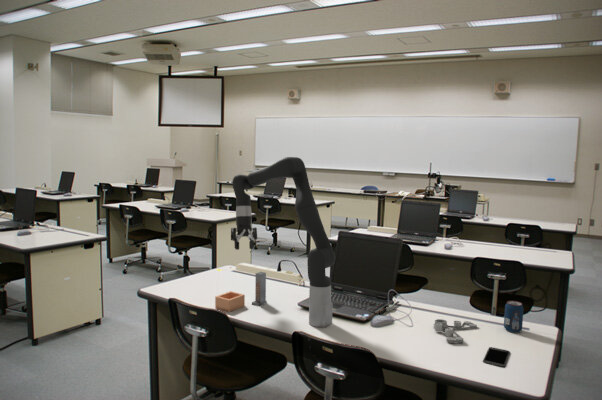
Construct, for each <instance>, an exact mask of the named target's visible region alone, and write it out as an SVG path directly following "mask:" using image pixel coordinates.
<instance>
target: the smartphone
mask: <svg viewBox="0 0 602 400" xmlns="http://www.w3.org/2000/svg"><path fill="white" fill-rule="evenodd" d="M510 354H511V352H510V350H507V349H502V348H498V347H492V346H490V347H488V349H487V350H486V353H485V356H484V357H483V360H482V362H483V363H484V364H486V365H489V366H495V367H496V368H497V367H498V368H503V369H504V368H506V366H507V364H508V360H509V358H510Z"/></svg>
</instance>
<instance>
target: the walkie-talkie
mask: <svg viewBox="0 0 602 400" xmlns="http://www.w3.org/2000/svg"><path fill="white" fill-rule="evenodd" d="M399 303H400V301H399V300H398V301H396V302H395V303H392V304H393V305H390V306H389V307H386V308H385V309H384V310H383V311H381V312H380V314H379V315H382V314H383V313H384V312H391V311H393V310H394V309H395V306H397V305H398V304H399Z"/></svg>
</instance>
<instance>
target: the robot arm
mask: <svg viewBox="0 0 602 400" xmlns="http://www.w3.org/2000/svg"><path fill="white" fill-rule="evenodd" d="M278 178H280V179H281V178H288V179H292V180H293V182H294V186H295V191H296V192H295V193H296V195H295V201H294V208H295V211H296V215H297V218H298V221H299V223H300V224H301V226H302V227H303V229H305V231H306V232H307V233H308V234H309V235H310V236H311V239H312V240H313V242H314V245H315V248H312V249H311V250H310V251H309V252H308V253H307V254H308V255H307V260H306V261H307V278H308V281H309V290H308V291H309V292H308V293H309V295H308V299H309V300H308V306H309V307H308V311H309V312H308V324H309V325H310V326H312V327H316V328H326V327H328V326H330V325H331V324H333V305H334V303H333V301H332V299H331V298H332V297H331V296H332V278H331V277H330V276H327V275H326V269H327V268H330V267H333V266H334V264H335V262H336V254H335V251H334V248H333V246H332V244H331V242H330V240H329V237H328V235H327V233H326V230H325V228H324V224H323V222H322V219H321V215H320V213H319V209H318V207H317V204H316V202H315V198H314V195H313V192H312V189H311V185H310V183H309V178H308V173H307V169H306V165H305V163H304V161H303V159H302V158H300V157H297V156H287V157H283V158H281V159H279V160H277V161H276V162H274V163H273V164H271V165H268V166H265V167H263V168H259V169H256V170H253V171H251V172H249V173H248V175H246V174H236V175H234V176H233V178H232V188H233V192H234V196H235V199H236V200H235V201H236V202H235V206H236V208H235V225H236V227H231V228H230V240H231V241H233V242H234V249H235V250H240V240H241V238H242V237H246V238H248V240H249V247H248V248H249V249H250V250H251V249H252V250H253V249H254V248H255V241H256V240H258V231H257V229H258V228H257V227H252V224H253V223H252V221H253V217H252V214H253V213H252V204H251V201H252V200H251V199H252V198H251V195H250V194H248V193H247V192H246V191H245V190H252V189H254V188H255V187H257V186H260V185H264V184H267V183H269V182H270V181H271V180H274V179H278Z"/></svg>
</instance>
